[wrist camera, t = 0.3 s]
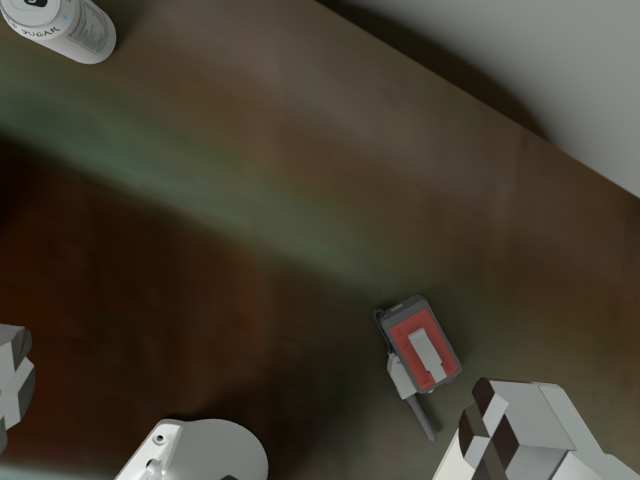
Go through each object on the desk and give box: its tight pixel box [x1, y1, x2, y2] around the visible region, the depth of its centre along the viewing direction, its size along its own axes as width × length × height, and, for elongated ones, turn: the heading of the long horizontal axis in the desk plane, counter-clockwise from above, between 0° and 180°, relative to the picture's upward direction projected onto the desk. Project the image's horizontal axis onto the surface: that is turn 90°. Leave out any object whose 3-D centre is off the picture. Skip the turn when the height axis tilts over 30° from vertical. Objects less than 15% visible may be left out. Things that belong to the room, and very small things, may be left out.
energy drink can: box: [0, 0, 116, 64], centre depth 48 cm, size 6×6×15 cm
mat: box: [432, 428, 475, 480], centre depth 70 cm, size 14×14×1 cm
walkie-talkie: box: [373, 294, 462, 441], centre depth 65 cm, size 9×4×20 cm
